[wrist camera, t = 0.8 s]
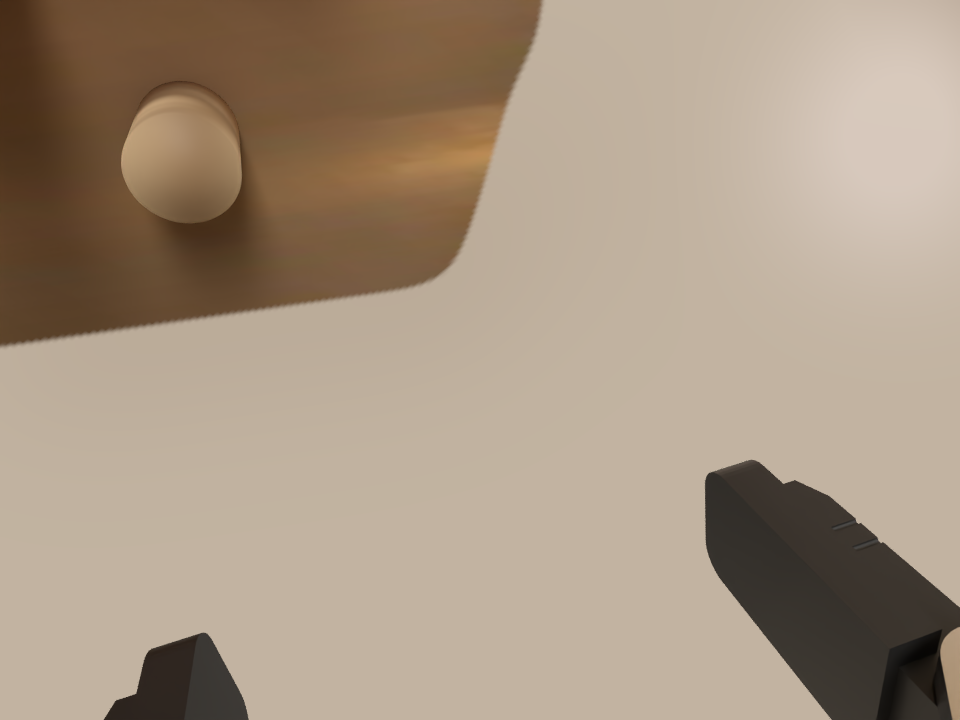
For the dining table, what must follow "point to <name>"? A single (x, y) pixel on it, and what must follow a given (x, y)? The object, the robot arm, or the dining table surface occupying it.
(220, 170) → the short dowel
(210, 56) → the dining table surface
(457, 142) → the dining table surface
